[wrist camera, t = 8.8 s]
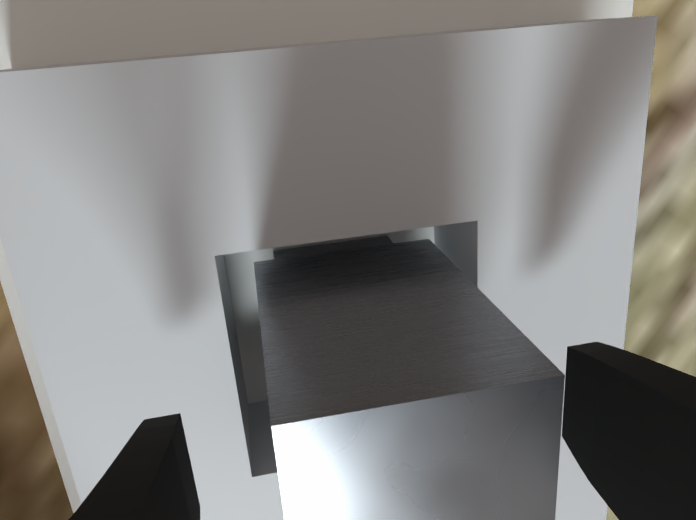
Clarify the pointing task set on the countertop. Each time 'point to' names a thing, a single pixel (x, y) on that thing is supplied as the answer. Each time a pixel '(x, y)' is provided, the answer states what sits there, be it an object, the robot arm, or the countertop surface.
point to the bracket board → (298, 194)
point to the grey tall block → (402, 389)
